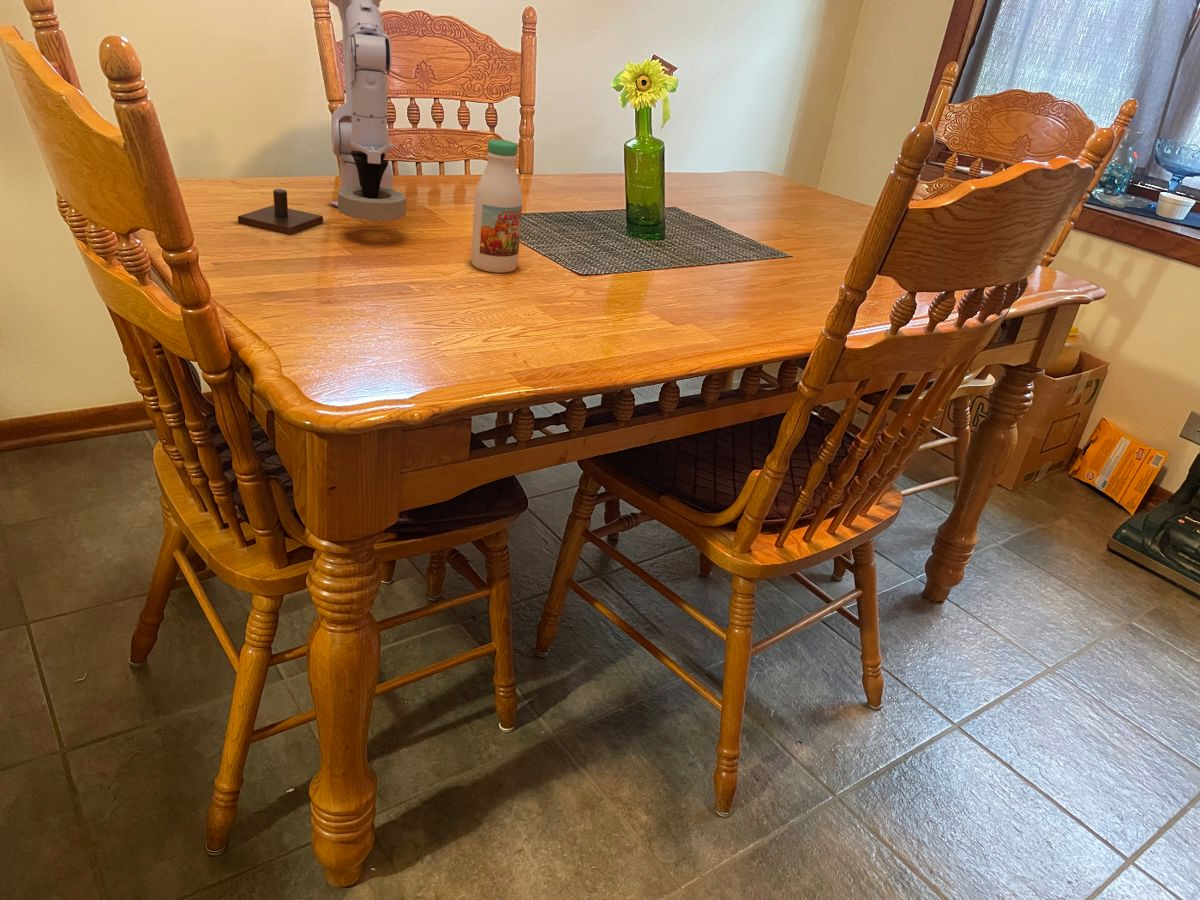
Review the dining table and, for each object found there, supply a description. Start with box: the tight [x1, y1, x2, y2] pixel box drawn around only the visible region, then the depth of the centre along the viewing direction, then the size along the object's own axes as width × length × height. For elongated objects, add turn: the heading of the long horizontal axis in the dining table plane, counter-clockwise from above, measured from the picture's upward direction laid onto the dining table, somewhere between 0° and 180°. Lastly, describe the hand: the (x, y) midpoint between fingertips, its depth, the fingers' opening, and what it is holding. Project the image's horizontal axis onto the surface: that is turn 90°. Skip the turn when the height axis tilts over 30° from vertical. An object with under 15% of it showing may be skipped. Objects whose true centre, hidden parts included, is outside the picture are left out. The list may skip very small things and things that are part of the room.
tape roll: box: [337, 186, 407, 222], centre depth 140 cm, size 11×11×3 cm
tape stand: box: [237, 188, 324, 235], centre depth 142 cm, size 10×10×6 cm
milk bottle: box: [470, 139, 523, 273], centre depth 133 cm, size 8×8×20 cm
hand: (369, 197), depth 144 cm, fingers closed on tape roll, 3 cm apart
